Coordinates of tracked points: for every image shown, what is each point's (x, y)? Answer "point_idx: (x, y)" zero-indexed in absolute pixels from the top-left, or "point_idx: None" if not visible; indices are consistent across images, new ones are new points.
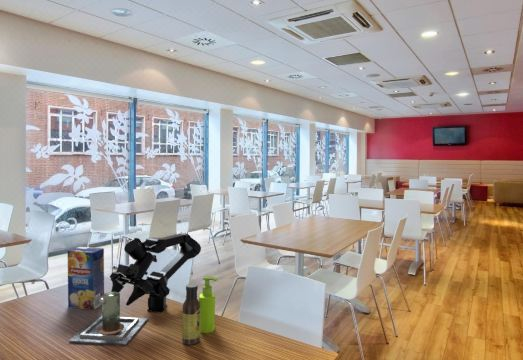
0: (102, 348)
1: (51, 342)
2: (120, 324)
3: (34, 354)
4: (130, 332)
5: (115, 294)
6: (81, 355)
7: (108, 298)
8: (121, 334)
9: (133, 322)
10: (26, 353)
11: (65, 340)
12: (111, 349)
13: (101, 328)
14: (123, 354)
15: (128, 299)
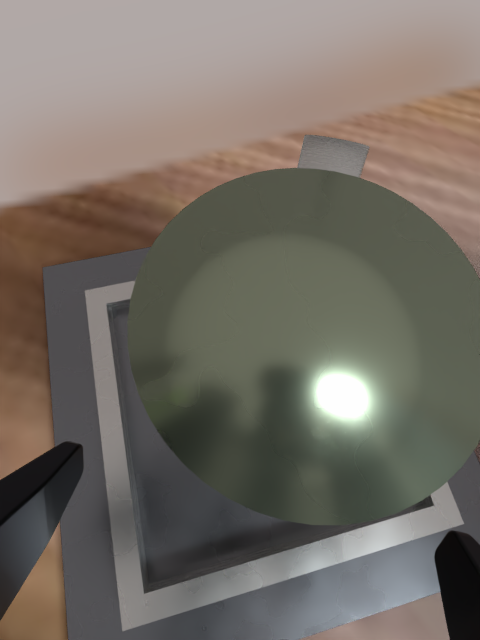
0: (161, 221)
1: (441, 193)
2: None
3: (405, 109)
4: (88, 397)
5: (240, 368)
6: (213, 151)
7: (243, 184)
8: (106, 317)
9: (123, 519)
10: (441, 106)
11: None
12: (109, 227)
13: None
14: (20, 209)
15: (15, 495)
